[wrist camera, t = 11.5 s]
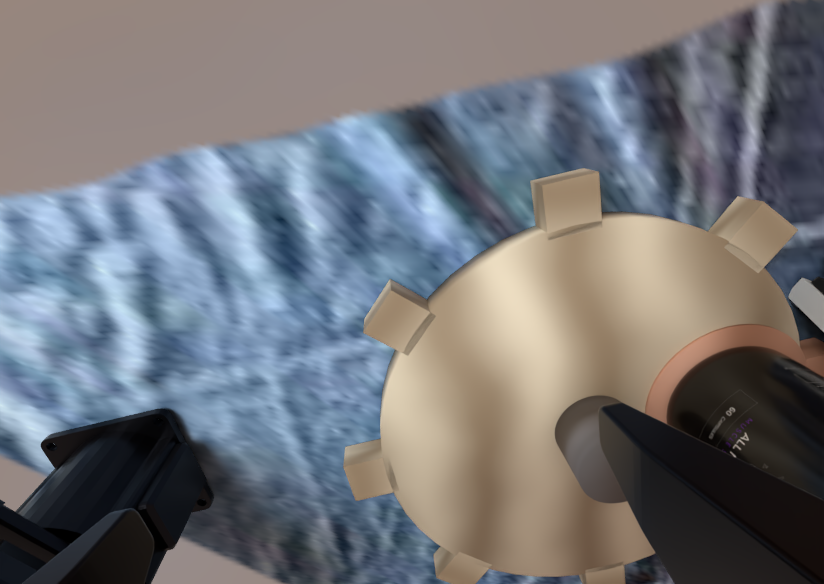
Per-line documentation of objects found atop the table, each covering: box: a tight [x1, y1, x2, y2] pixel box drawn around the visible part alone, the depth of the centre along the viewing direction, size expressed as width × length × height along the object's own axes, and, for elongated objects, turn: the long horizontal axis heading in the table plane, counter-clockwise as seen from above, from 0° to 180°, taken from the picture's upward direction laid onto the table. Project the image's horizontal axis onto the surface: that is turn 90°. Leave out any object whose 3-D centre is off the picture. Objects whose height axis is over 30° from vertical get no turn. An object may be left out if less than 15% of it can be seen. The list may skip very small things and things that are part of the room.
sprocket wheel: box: [343, 168, 824, 584], centre depth 22 cm, size 26×26×4 cm
